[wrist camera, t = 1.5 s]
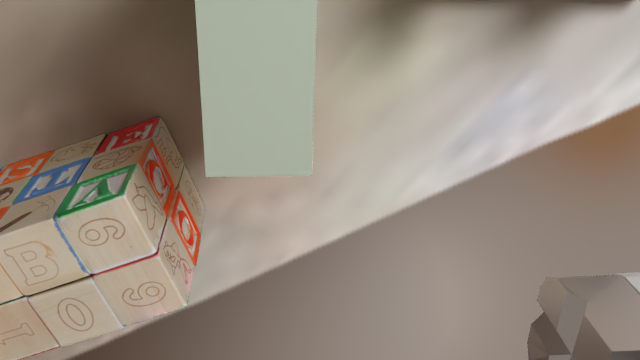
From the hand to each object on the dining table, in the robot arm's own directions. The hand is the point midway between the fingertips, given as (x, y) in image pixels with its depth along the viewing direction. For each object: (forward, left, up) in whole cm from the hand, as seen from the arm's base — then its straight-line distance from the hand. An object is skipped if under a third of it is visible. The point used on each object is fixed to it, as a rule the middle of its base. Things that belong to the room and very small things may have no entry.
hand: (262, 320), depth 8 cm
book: (0, 0, -23) cm, 23 cm away
